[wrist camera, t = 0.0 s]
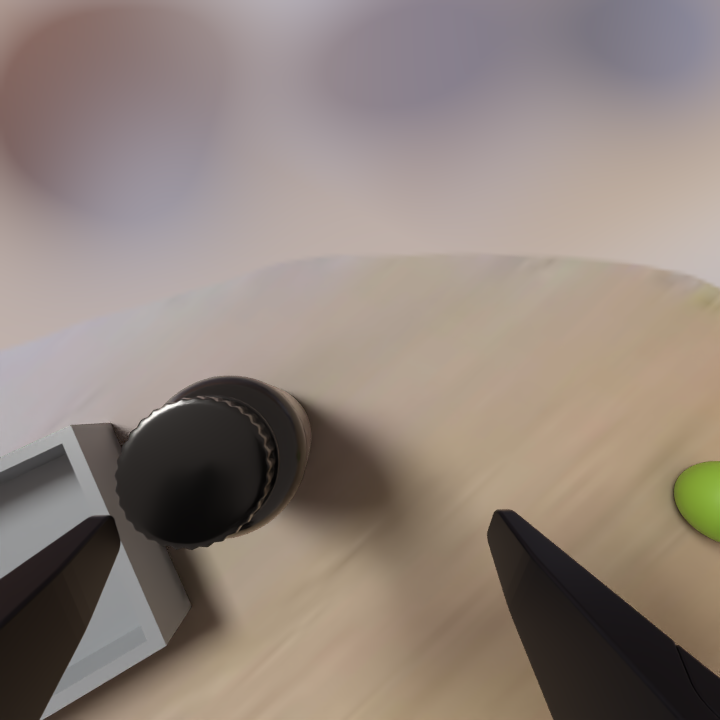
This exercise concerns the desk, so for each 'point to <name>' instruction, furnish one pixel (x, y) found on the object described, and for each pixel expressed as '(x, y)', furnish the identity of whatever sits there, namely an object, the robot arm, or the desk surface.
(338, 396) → the desk surface
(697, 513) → the snail figurine
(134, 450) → the supplement bottle
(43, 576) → the robot arm
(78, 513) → the box
